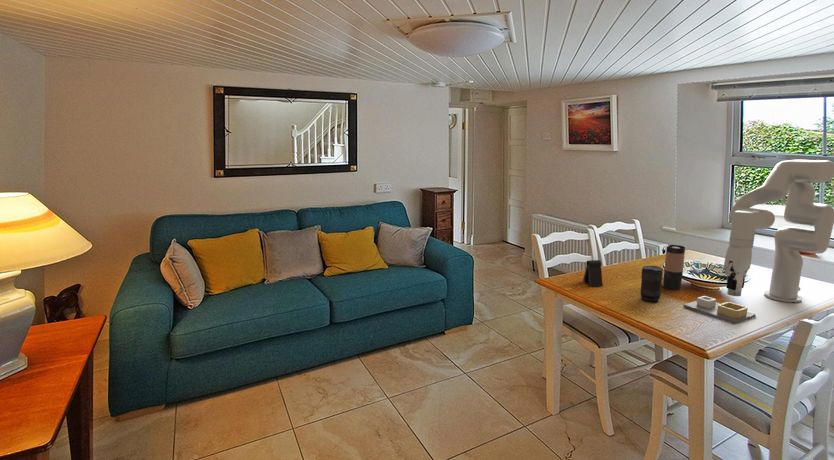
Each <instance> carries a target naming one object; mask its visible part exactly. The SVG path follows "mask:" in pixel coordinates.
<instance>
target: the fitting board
mask: <svg viewBox="0 0 834 460" xmlns="http://www.w3.org/2000/svg"><path fill="white" fill-rule="evenodd" d="M696 298H697V299H696V300H695V301H691V302H688V303H687V302H686V303H683V308H686V309H688V310H691V311H694V312H696V313H699V314H703V315H706V316H709V317H712V318H714V319H718V320H721V321H722V322H723V321H724V322H725V323H726V322H727V323H730V324H732V325H736V324H740V323H743V322H746V321H748V320H752V319H754V318H756V317H757V316H756V315H757V314H756V313H752V312H749V311H748V307H747V306H745V305H741V304H738V303H734V302H731V301H725V302H722V303H720V302H717V298H714V297H711V296H710V297H709V296H707V295H703V296H699V297H696ZM745 320H746V321H745Z"/></svg>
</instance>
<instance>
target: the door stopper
mask: <svg viewBox="0 0 834 460" xmlns="http://www.w3.org/2000/svg"><path fill="white" fill-rule="evenodd" d="M583 281H584V282H585V285H587V284H588V285H589V286H588V285H587V286H588V287H590V288H595V287H596V288H597V287H599V286H603V284H604V283H603V275H602V260H600V259H595V260H594V259H593V260H586V266H585V271H584V275H583V279H582V282H583ZM584 282H583V283H584ZM599 288H600V287H599Z"/></svg>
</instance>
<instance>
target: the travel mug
mask: <svg viewBox="0 0 834 460" xmlns="http://www.w3.org/2000/svg"><path fill="white" fill-rule="evenodd" d="M685 253H686V247H685V246H683V245H678V244H669V245H668V246H666V251H665V260H664V269H663V284H662V287H663V288H664V289H666V290H675V291H678V290H681V287H682V281H683V273H684V264H685Z"/></svg>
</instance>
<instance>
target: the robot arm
mask: <svg viewBox="0 0 834 460" xmlns="http://www.w3.org/2000/svg"><path fill="white" fill-rule="evenodd" d="M833 178H834V162H833V161H831V160H822V159H821V160H820V159H816V160H814V159H790V160H782V161H779V162H778V163H777V164H776V165H775V166H774V167H773V169H772V170H771V172H770V173H769V175H768V176H767V178H766V179H765V181H764V182H763V184H762V185H761V186H759V187H757V188H755V189H753V190H751V191H748V192H747V193H745V194H743V195H742V196H740V197H739V198H738V199H737V200H736V202H735V203H734V204H733V206H732V207H731V209H730V211H729V214H728V221H729V223H731V225H730V233H729V239H728V241H729V242H728V247H727V250H726V253H725V257H724V262H723V263H724V264H723V270H724V273H725V275H726V279H727V281H726V287H725V288H726V289H727V290H728V289H732V290H736V286H737V280H736V278H737V274H738V273H739V272H742V271H744V276H743V284H742V289H744V287H745V282H746V281H745V280H746V277H747V274H748V271H749V270H750V269H751V265H752V258H753V257H752V254H753V252H752V251H753V248H754V242H755V235H756V234H755V233H756V230H766V229H768V228H771V227H772V226H773V224H774V223H775V220H776V216H775V214H774V213H773V212H771V210H769V209H768V210H767V209H762V208H761V209H760V208H754V206H758V205H760V204H766V203H771V202H772V203H773V202H777V201H780V200H782V199H784V198H785V197H786V196H787V198H786V203H785V209H784V214H783V218H784V221H785V222H787V223H789V224H793V225H800V226H809V227H813V228H814V229H810V228H803V227H796V226H783V227H782V226H781V227H779V228H778V229H777V230H776V231H775V233H774V258H773V265H772V270H771V271H772V272H771V277H770V284H769V290H766V291H765V292H764V294H763V295H764V296H765V297H766V298H768V299H771V300H774V301H778V302H782V303H783V302H784V303H792V302H795V303H800V302H802V300H803V298H802V297H801V296H800V295H798V294H799V291H801V287H800V282H801V278H802V277H801V275H802V269H803V265H804V261H803V260H804V259H803V257H802V255H801V252H803V253H804V252H805V253H810V254H819V255H820V254H823V253H825V252H826V251H827V250H828V247H829V245H830V241H831V237H832V233H833V228H834V207H833V206H831V205H830V204H825V203H819V202H818V203H815V202H814V201H815V196H816V188H815V187H814V184H820V183H827V182H830V181H831V180H833ZM732 270H734V272H733V271H732ZM731 273H734V275H733V274H731Z"/></svg>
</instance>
